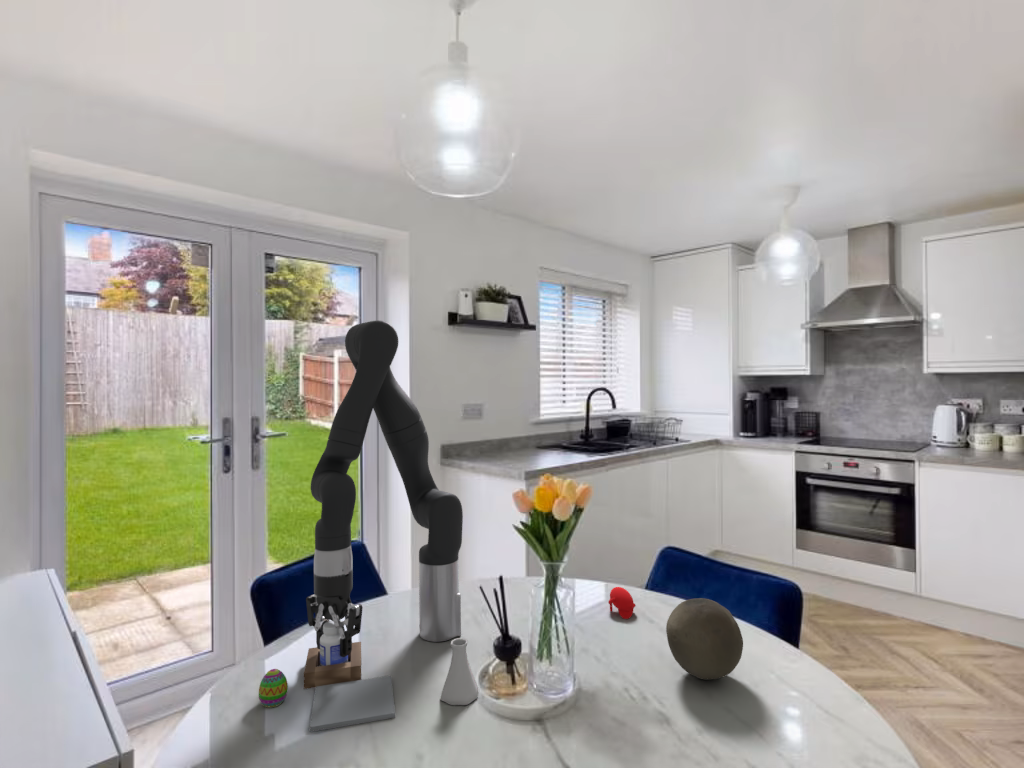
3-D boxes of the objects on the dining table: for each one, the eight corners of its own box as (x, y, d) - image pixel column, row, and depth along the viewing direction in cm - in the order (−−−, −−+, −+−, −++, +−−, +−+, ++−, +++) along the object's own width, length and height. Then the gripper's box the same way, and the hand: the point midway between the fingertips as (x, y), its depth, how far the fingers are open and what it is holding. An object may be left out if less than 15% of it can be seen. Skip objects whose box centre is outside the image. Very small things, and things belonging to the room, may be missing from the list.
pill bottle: (352, 665, 112) (351, 618, 113) (341, 679, 107) (341, 629, 107) (327, 664, 113) (326, 617, 113) (315, 678, 108) (314, 628, 108)
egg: (255, 712, 96) (255, 678, 96) (262, 696, 101) (262, 664, 101) (284, 708, 97) (284, 675, 97) (290, 693, 102) (290, 661, 102)
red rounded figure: (601, 595, 141) (605, 590, 136) (621, 585, 142) (625, 580, 137) (616, 625, 137) (621, 621, 132) (637, 615, 138) (642, 611, 133)
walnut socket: (361, 655, 117) (361, 641, 117) (361, 680, 106) (361, 665, 106) (308, 662, 114) (308, 648, 114) (303, 689, 103) (303, 673, 104)
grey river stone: (669, 656, 115) (668, 585, 115) (741, 666, 110) (740, 592, 110) (664, 691, 101) (663, 610, 102) (746, 704, 97) (745, 620, 97)
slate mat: (391, 679, 107) (391, 675, 107) (395, 717, 94) (395, 712, 94) (315, 690, 103) (315, 686, 103) (309, 731, 90) (309, 727, 90)
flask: (485, 688, 103) (484, 636, 103) (469, 710, 96) (469, 653, 96) (450, 682, 105) (450, 631, 106) (433, 703, 99) (432, 647, 99)
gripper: (294, 568, 111) (294, 651, 110) (344, 580, 104) (345, 668, 103) (323, 558, 117) (323, 636, 117) (372, 568, 110) (373, 651, 110)
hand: (334, 651), depth 110 cm, fingers open, 6 cm apart
